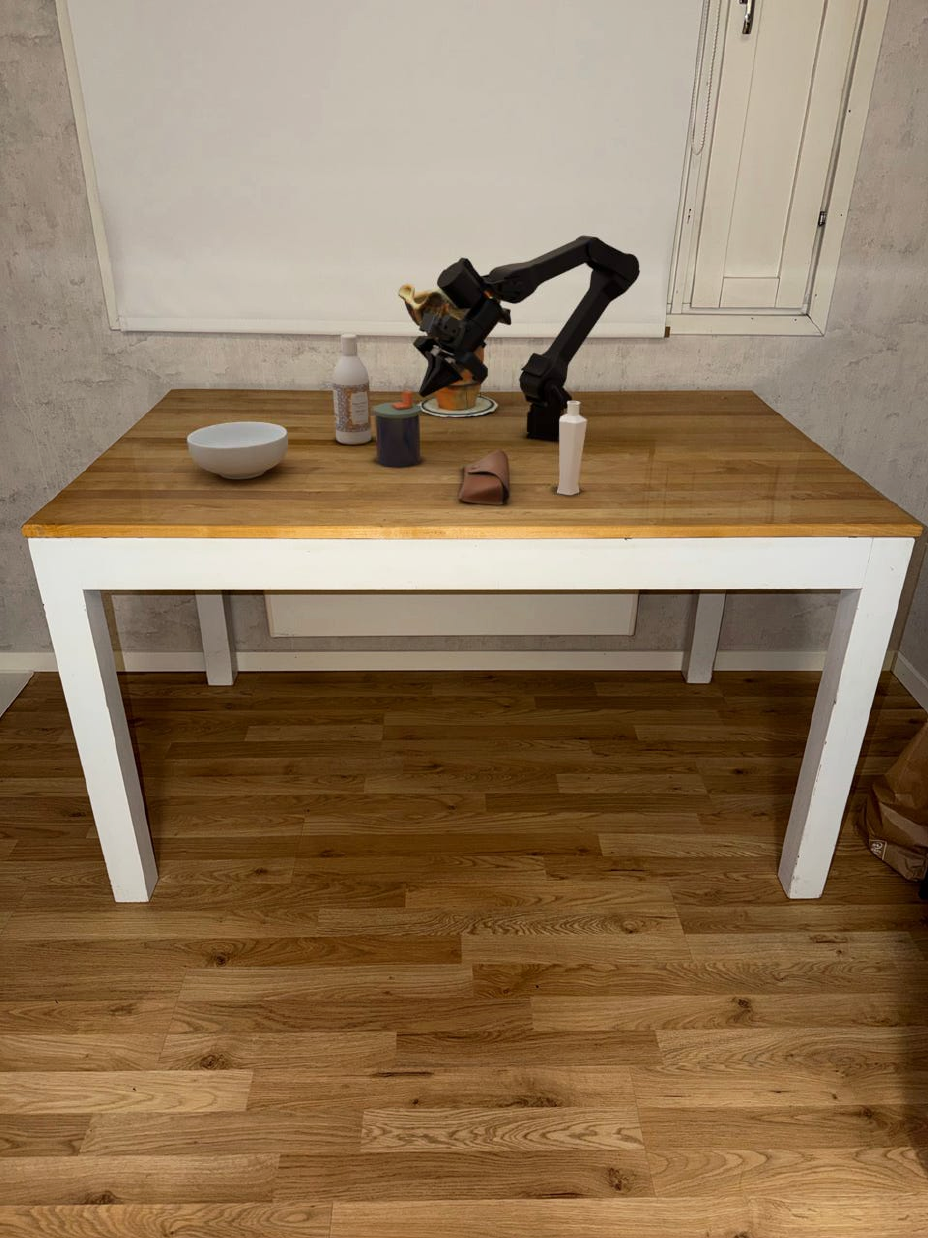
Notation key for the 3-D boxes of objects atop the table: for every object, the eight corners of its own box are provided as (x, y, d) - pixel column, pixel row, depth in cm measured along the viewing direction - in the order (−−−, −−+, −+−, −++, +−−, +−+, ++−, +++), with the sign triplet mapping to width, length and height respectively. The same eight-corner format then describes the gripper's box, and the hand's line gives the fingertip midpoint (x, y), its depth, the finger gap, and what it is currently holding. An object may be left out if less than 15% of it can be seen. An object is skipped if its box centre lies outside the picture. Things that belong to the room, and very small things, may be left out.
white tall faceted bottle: (580, 496, 143) (587, 406, 136) (554, 495, 143) (559, 405, 136) (582, 487, 147) (589, 399, 140) (556, 485, 147) (561, 398, 140)
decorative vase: (385, 409, 191) (380, 273, 178) (454, 390, 206) (455, 265, 193) (455, 426, 179) (456, 283, 166) (523, 406, 194) (529, 273, 181)
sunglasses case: (460, 465, 155) (479, 434, 152) (493, 485, 156) (513, 454, 154) (457, 501, 139) (479, 467, 136) (494, 522, 141) (516, 489, 138)
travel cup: (408, 450, 164) (407, 399, 160) (430, 463, 158) (429, 410, 153) (367, 457, 160) (365, 405, 156) (387, 470, 154) (386, 416, 149)
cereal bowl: (291, 455, 161) (287, 418, 157) (290, 485, 146) (287, 444, 143) (197, 460, 158) (191, 421, 155) (187, 490, 144) (181, 449, 140)
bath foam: (346, 447, 166) (339, 339, 156) (330, 438, 171) (323, 333, 161) (377, 441, 169) (373, 336, 160) (361, 433, 174) (356, 330, 165)
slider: (406, 403, 157) (405, 389, 155) (413, 407, 154) (412, 392, 153) (391, 406, 155) (390, 391, 154) (398, 409, 153) (397, 394, 152)
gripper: (421, 289, 157) (369, 356, 158) (474, 302, 143) (416, 376, 143) (458, 330, 165) (408, 394, 165) (512, 347, 151) (457, 417, 151)
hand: (421, 395), depth 156 cm, fingers closed
